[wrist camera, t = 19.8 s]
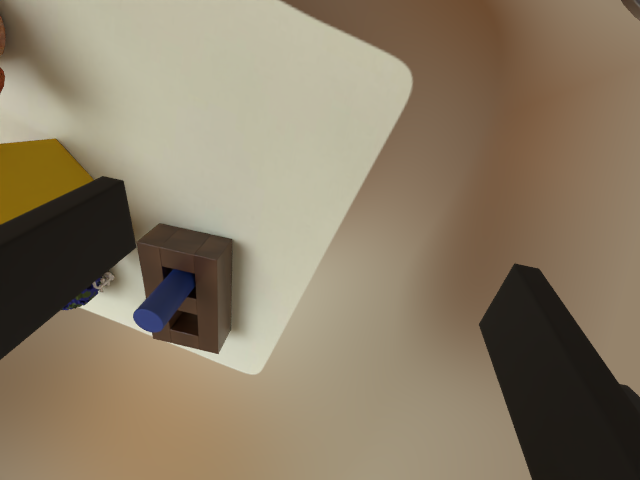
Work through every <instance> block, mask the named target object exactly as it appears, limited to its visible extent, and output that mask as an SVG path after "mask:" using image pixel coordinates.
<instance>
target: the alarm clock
mask: <svg viewBox="0 0 640 480" xmlns="http://www.w3.org/2000/svg"><path fill="white" fill-rule="evenodd" d="M92 181H94V179H93V178H92V177H91V176H90V175H89V174H88V173H87V172H86V171H85V170H84V169H83V168H82V166H81V165H80V164H79V163H78V162H77V161H76V160H75V159H74V158H73V157H72V156H71V155H70V154H69V153H68V151H67V150H66V149H65V148H64V147H63V146H62V145H61V144H60V143H59V142H58V141H57V140H56V139H47V140H36V141H26V142H15V143H4V144H0V225H1V224H3V223H5V222H7V221H9V220H11V219H13V218H16V217H18V216H20V215H22V214H24V213H26V212H28V211H30V210H32V209H35V208H37V207H39V206H41V205H43V204H45V203H47V202H49V201H51V200H54V199H56V198H58V197H60V196H62V195H64V194H66V193H68V192H70V191H73V190H75V189H77V188H79V187H81V186H83V185H85V184H87V183H89V182H92Z"/></svg>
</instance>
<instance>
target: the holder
mask: <svg viewBox="0 0 640 480" xmlns="http://www.w3.org/2000/svg"><path fill="white" fill-rule="evenodd" d="M137 247H138V253H139V259H140V265H141V270H142V276H143V282H144V288H145V294H146V299H147V298H148V296H149V295H150V294H151V293H152V292H153V291H154V290H155V289H156V288H157V287H158V285H159V284H160V283H161V282H162V281H163V280H164V279H165V278H166V277H167V276H168V275H169V273H170V272H171V271H172V270H173V269H177V270H181V271H185V272H190V273H195V283H196V286H195V287H194V288H193V290H192V291H191V292H190V294H189V295H188V296H187V298H186V299H185V300H184V302H183V303H182V304H181V306H180V307H179V308H178V309H177V311H176V312H175V313H174V315H173V316H172V317H171V319H170V320H169V321H168V323H167V324H166V325H165V327H164V328H163V329H162V330H161V331H159V332H152V335H153V338H154V339H157V340H162V341H166V342H170V343H174V344H178V345H183V346H187V347H191V348H195V349H200V350H203V351H208V352H212V353H216V354H219V352H220V350H221V348H222V346H223V344H224V342H225V340H226V338H227V336H228V334H229V332H230V330H231V290H232V239H228V238H223V237H219V236H214V235H210V234H206V233H201V232H196V231H192V230H187V229H183V228H178V227H173V226H169V225H164V224H158V225H157V226H156V227H154V228H153V229H152V230H151V231H150V232H148V233H147V234H146V235H145V236H143V237H142V238H141V239H140V240H139V241H137Z"/></svg>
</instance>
